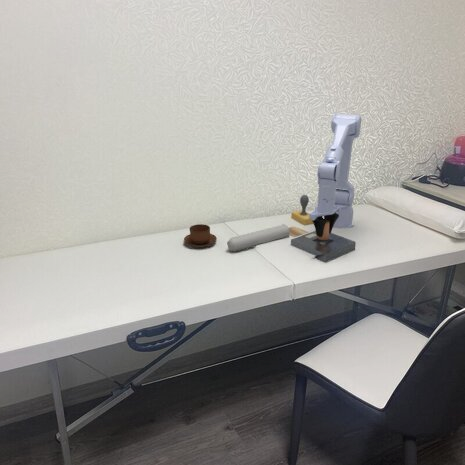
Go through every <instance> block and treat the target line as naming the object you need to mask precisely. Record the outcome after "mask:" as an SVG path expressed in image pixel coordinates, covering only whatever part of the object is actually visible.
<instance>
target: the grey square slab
mask: <svg viewBox="0 0 465 465" xmlns="http://www.w3.org/2000/svg"><path fill="white" fill-rule="evenodd" d="M322 243H323V244H322ZM356 244H357V242H356V241H355V240H352V239H349V238H347V237H344V236H340V235H338V234H335V233H334V232H331V234H329V239H328V240H319V239H317V235H316V230H314V231H311V232H308V233H305V234H302V235H299V236H297V237H293V238H292V239H290V246H293V247H295V248H297V249H299V250H302V251H304V252H306V253H309V254H311V255H314V256H313V258H315V259H316V258H317V259H316V260H318V261H320V262H321V261H322V262H324V263H328V262H331V261H332V260H334V259H337V258H339V257H341V256H343V255H346V254H348V253H350V252H353V251H355V250H356Z"/></svg>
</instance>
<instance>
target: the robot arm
mask: <svg viewBox="0 0 465 465" xmlns="http://www.w3.org/2000/svg"><path fill="white" fill-rule="evenodd" d="M330 123H331V124H330V126H331V127H330V128H331V131H332V133H333V138H332V141H331V142H332V143H331V144H330V145H328V147H327V148H326V151H325V154H324V157H323V160H322V162H321V163H319V165H318V167H317V185H318V194H317V206H315V208H314V210H313V211H311V212H310V213H309V219H311V220H312V221H313V223H314V224H313V226H314V229H315V230H314V231H316V235H317V236H319V237H322V236H323V231H324V226H325V224H326V222H327V221H329V222H330V224H329V234H331V233H332V231H333V228H337V229H342V228H352V227H354V224H353V220H354V218H353V217H354V207H353V204H354V201H355V186H354V185H353V184H352V183H351V182H350V181H349V176H350V166H351V160H352V151H353V143H354V140H355V139H356V138H359V137H360V135H361V125H362V116H361V115H360V114H357V115H356V114H343V113H342V114H340V113H334V114H333V115H332V117H331V121H330Z"/></svg>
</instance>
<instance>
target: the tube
mask: <svg viewBox="0 0 465 465" xmlns="http://www.w3.org/2000/svg"><path fill="white" fill-rule="evenodd" d="M289 228H290V227H288V225H287V224H284V223H282V224H281V225H277V226H272V227H270V228H264V229H261V230H256V231H253V232H249V233H244V234H241V235H237V236H233V237H230V238H229V240H227V242H226V244H227V248H228V250H229V251H230V252H233V251H234V253H235V251H236V252H240V251H243V249H244V250H247V248H248V249H251V248H254V247H257V246H258V245H262V244H264V243H269V242H272V241H277V240H281V239H284V238H289V236H290V230H289ZM239 250H240V251H239Z"/></svg>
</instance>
